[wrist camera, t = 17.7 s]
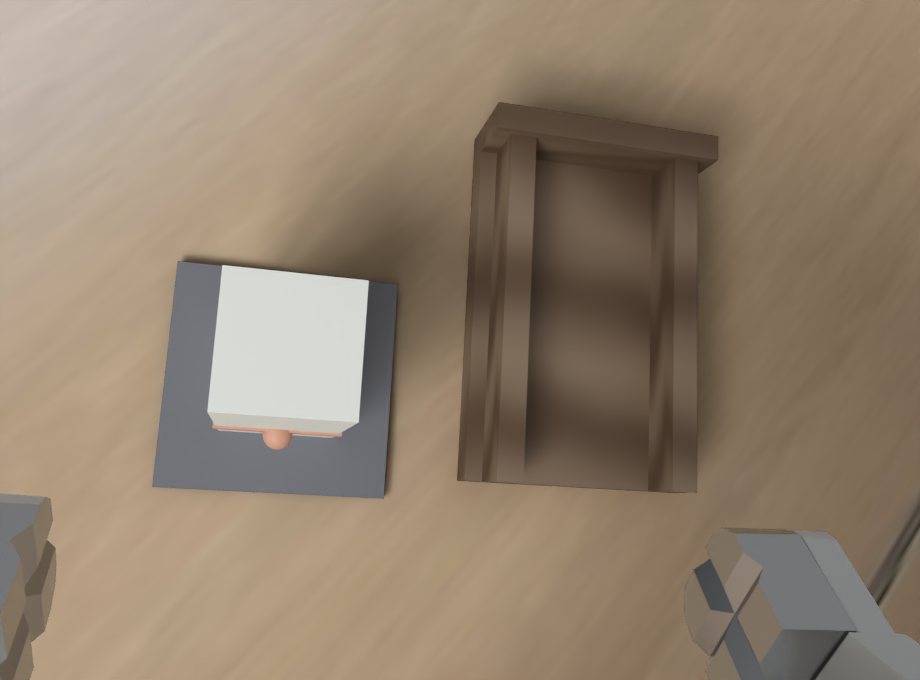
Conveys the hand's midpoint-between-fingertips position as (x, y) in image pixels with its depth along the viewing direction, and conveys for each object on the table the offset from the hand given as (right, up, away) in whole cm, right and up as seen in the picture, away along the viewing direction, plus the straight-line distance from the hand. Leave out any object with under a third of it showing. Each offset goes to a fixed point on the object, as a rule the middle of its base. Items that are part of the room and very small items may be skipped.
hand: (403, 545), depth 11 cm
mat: (-7, +1, +29) cm, 30 cm away
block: (-7, +1, +28) cm, 29 cm away
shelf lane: (+6, +4, +33) cm, 34 cm away
